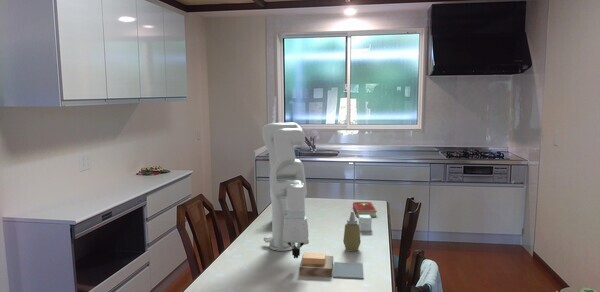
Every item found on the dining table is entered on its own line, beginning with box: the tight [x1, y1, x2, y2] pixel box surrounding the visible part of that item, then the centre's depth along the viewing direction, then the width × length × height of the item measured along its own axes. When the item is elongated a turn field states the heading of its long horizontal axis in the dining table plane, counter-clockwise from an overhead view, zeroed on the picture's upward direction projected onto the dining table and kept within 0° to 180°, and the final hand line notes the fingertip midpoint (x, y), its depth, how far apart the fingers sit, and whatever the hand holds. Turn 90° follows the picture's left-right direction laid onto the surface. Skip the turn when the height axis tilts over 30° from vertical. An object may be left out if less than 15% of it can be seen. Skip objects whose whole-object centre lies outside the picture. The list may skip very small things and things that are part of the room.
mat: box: [332, 261, 365, 280], centre depth 169 cm, size 12×14×1 cm
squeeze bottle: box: [343, 211, 362, 252], centre depth 191 cm, size 8×8×18 cm
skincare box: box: [358, 215, 373, 232], centre depth 221 cm, size 6×6×7 cm
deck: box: [298, 254, 334, 278], centre depth 170 cm, size 13×13×4 cm
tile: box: [302, 251, 327, 265], centre depth 170 cm, size 9×6×2 cm, turn 83°
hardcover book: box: [352, 201, 377, 218], centre depth 254 cm, size 12×21×4 cm, turn 179°
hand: (296, 256), depth 171 cm, fingers closed
